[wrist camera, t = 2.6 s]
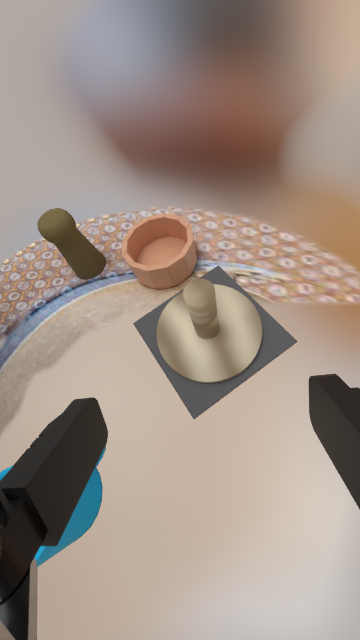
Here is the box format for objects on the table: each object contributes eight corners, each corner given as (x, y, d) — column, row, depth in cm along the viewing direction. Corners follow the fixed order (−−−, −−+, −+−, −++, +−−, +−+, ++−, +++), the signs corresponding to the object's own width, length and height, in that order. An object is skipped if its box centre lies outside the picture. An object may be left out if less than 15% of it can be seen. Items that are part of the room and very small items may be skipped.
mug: (63, 563, 24) (-8, 619, 17) (25, 499, 28) (-47, 523, 20) (138, 462, 27) (105, 473, 20) (96, 415, 30) (54, 409, 23)
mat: (194, 419, 28) (193, 418, 27) (134, 324, 35) (133, 323, 35) (296, 342, 29) (297, 341, 29) (218, 267, 37) (218, 265, 36)
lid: (195, 406, 28) (179, 394, 19) (141, 324, 34) (110, 286, 25) (285, 340, 29) (309, 299, 20) (217, 272, 36) (212, 219, 27)
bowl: (153, 301, 36) (143, 283, 32) (123, 260, 41) (111, 239, 37) (210, 263, 37) (207, 240, 33) (174, 228, 42) (167, 204, 38)
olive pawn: (101, 278, 41) (60, 230, 31) (71, 279, 42) (23, 233, 32) (109, 252, 43) (74, 199, 33) (80, 253, 44) (38, 203, 35)
